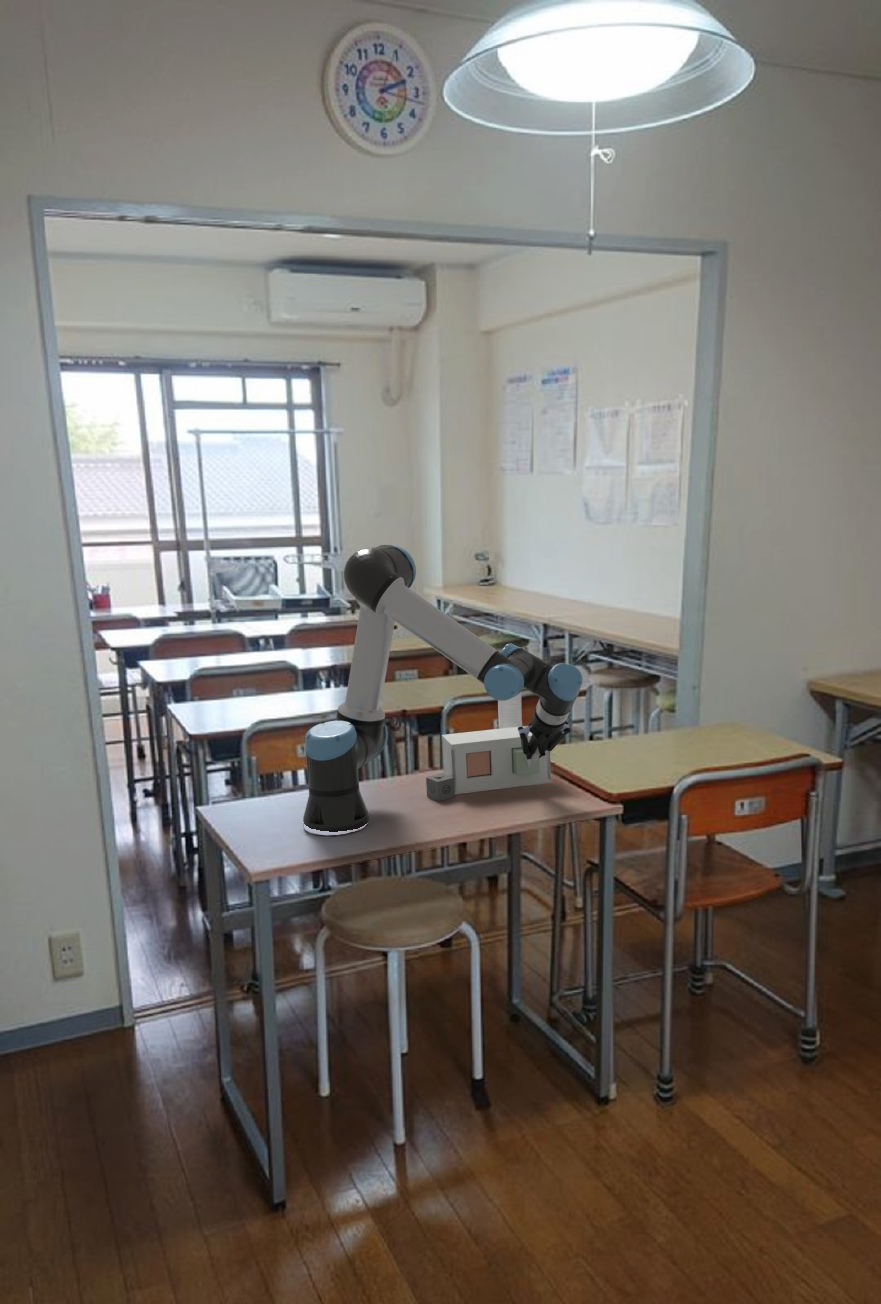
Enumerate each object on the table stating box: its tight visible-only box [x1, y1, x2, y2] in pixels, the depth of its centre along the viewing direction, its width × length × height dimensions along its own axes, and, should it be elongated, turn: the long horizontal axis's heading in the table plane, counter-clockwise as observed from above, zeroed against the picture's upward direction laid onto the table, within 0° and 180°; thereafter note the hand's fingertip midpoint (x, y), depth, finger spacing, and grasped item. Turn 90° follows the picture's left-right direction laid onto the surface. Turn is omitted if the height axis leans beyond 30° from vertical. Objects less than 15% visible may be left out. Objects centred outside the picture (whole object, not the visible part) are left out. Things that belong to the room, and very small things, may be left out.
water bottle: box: [497, 691, 523, 729], centre depth 250 cm, size 9×6×25 cm
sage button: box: [512, 747, 540, 775], centre depth 234 cm, size 6×7×6 cm
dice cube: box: [425, 772, 456, 802], centre depth 229 cm, size 5×5×5 cm
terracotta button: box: [466, 751, 490, 777], centre depth 234 cm, size 6×7×6 cm
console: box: [441, 725, 552, 795], centre depth 237 cm, size 26×10×13 cm, turn 104°
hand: (530, 762), depth 229 cm, fingers closed
